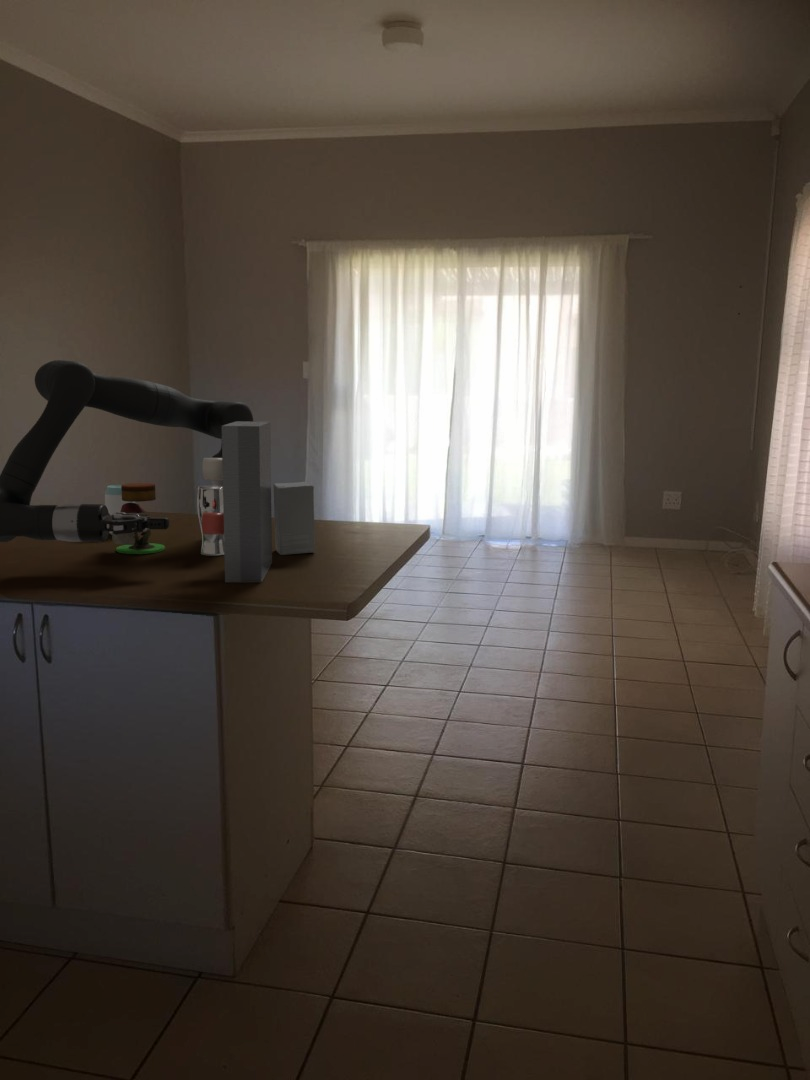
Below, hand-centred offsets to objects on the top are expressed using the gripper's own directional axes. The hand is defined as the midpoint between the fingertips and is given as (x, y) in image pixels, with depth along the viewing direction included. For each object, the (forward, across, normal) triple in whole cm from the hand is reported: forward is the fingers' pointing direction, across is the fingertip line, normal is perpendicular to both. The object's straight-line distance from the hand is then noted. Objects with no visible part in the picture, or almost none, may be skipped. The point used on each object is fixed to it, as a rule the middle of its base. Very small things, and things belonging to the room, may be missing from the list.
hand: (168, 523), depth 178 cm
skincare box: (+23, +22, +10) cm, 33 cm away
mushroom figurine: (-12, +23, +10) cm, 28 cm away
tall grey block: (+16, 0, +10) cm, 19 cm away
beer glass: (+5, +20, +10) cm, 23 cm away
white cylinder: (+10, 0, -9) cm, 13 cm away
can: (-22, +44, +10) cm, 51 cm away
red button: (+10, 0, +2) cm, 10 cm away
